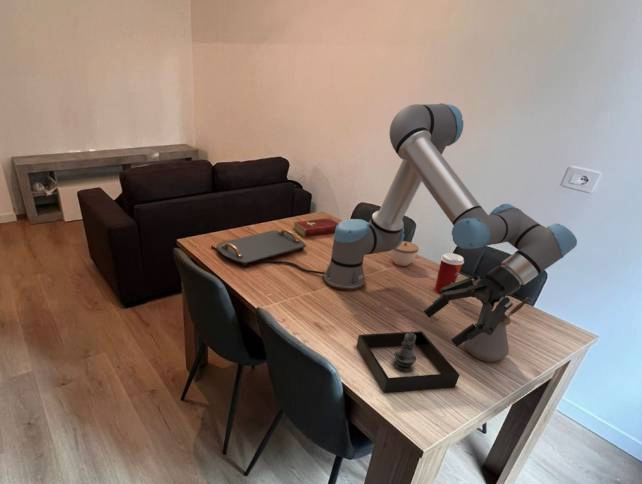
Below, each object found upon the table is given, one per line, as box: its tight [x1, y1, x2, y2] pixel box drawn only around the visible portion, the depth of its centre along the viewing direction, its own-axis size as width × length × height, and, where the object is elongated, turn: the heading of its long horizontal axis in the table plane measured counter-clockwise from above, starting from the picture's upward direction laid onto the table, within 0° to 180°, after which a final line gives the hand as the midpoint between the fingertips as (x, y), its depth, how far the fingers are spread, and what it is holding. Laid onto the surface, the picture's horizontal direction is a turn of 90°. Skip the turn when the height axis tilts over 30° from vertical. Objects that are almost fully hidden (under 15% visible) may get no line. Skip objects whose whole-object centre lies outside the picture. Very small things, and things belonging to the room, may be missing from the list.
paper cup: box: [434, 252, 465, 295], centre depth 148 cm, size 8×8×14 cm
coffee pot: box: [464, 296, 534, 363], centre depth 117 cm, size 21×12×15 cm, turn 121°
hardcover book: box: [292, 217, 340, 238], centre depth 201 cm, size 12×21×4 cm, turn 111°
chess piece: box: [392, 330, 418, 373], centre depth 110 cm, size 6×6×12 cm
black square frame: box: [356, 330, 460, 394], centre depth 112 cm, size 20×20×4 cm
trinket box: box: [390, 240, 420, 267], centre depth 170 cm, size 11×11×9 cm
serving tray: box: [216, 228, 307, 268], centre depth 178 cm, size 39×23×6 cm, turn 125°
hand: (439, 328), depth 108 cm, fingers open, 13 cm apart
